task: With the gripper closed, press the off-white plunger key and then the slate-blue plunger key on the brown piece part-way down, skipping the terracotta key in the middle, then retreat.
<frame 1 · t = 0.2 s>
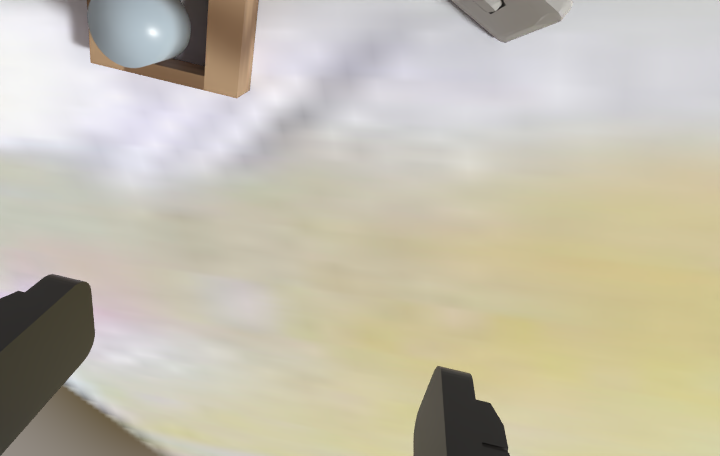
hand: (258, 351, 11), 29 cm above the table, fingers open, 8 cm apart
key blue: (146, 24, 30), point 6 cm above the table, slide at 0.0 cm
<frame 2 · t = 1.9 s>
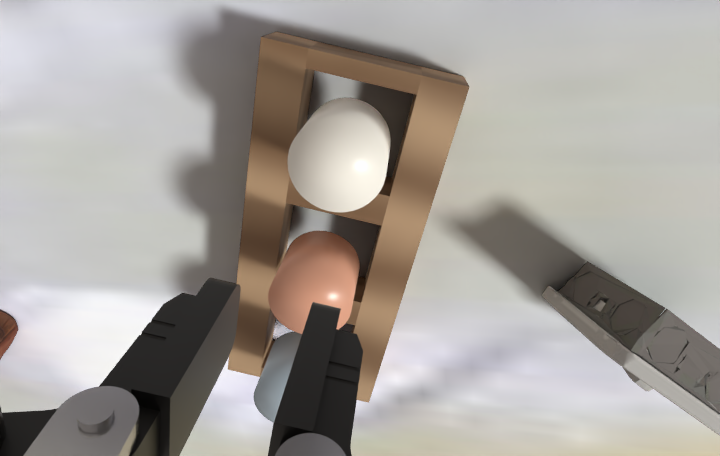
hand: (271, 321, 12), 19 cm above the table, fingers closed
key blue: (298, 373, 31), point 6 cm above the table, slide at 0.0 cm
key terracotta: (318, 277, 27), point 6 cm above the table, slide at 0.0 cm
brown piece: (332, 232, 32), on the table
electrical switch: (610, 296, 32), on the table
key white: (343, 150, 23), point 5 cm above the table, slide at 0.0 cm
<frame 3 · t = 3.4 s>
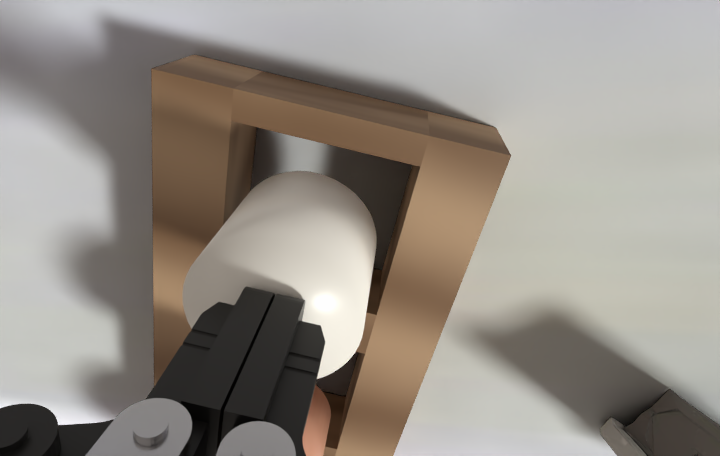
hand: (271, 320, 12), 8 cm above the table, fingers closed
key terracotta: (263, 440, 17), point 6 cm above the table, slide at 0.0 cm
brown piece: (297, 340, 22), on the table
electrical switch: (698, 431, 23), on the table
key white: (295, 262, 14), point 5 cm above the table, slide at 0.3 cm, touching gripper
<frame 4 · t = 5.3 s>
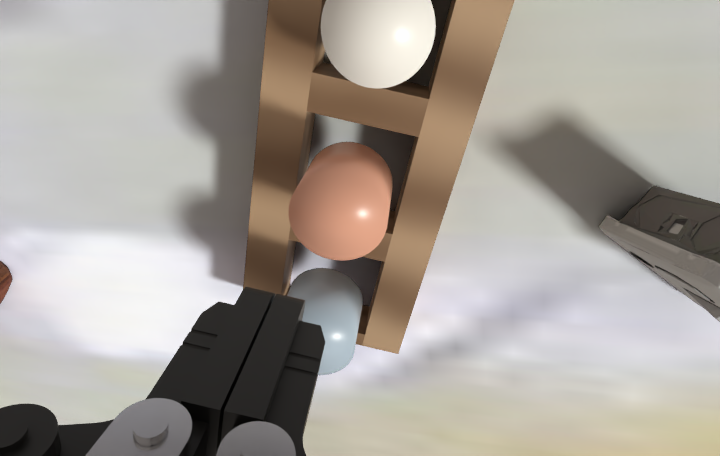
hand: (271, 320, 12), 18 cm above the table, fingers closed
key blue: (321, 314, 27), point 6 cm above the table, slide at 0.0 cm
key terracotta: (345, 195, 23), point 6 cm above the table, slide at 0.0 cm
brown piece: (358, 157, 28), on the table
electrical switch: (677, 229, 28), on the table
key white: (382, 23, 21), point 4 cm above the table, slide at 1.5 cm
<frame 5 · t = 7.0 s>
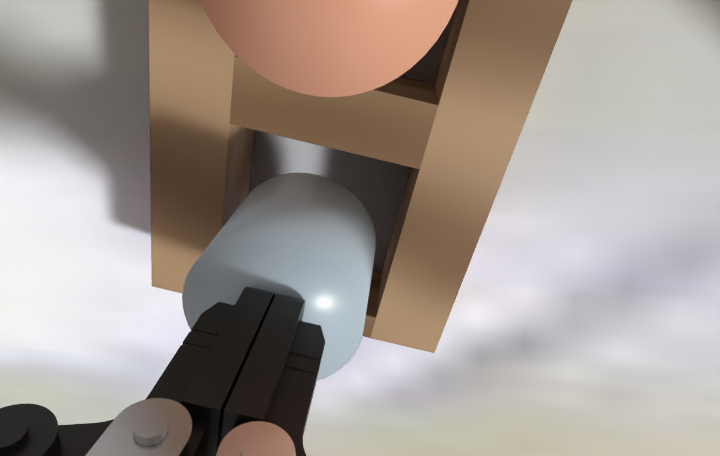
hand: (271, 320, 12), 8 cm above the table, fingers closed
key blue: (295, 263, 14), point 5 cm above the table, slide at 0.4 cm, touching gripper
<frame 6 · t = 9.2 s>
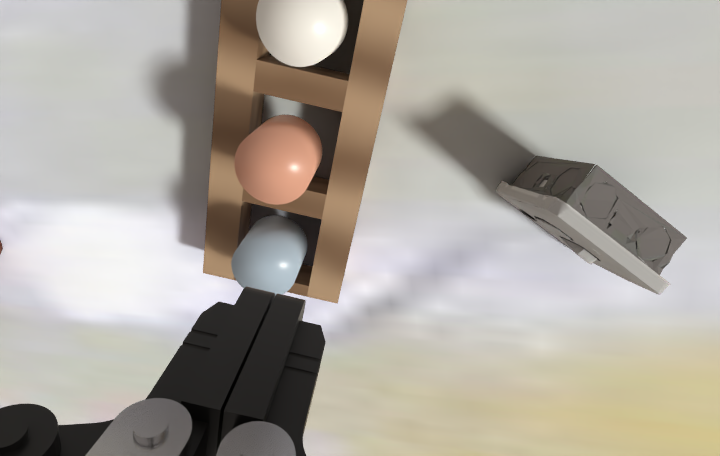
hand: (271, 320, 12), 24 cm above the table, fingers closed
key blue: (273, 251, 34), point 4 cm above the table, slide at 1.4 cm
key terracotta: (282, 156, 29), point 6 cm above the table, slide at 0.0 cm
brown piece: (300, 134, 34), on the table
electrical switch: (559, 193, 35), on the table
key white: (306, 20, 27), point 4 cm above the table, slide at 1.5 cm
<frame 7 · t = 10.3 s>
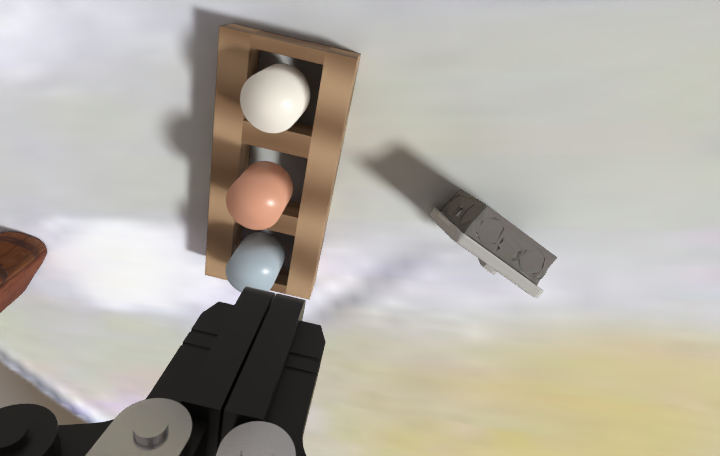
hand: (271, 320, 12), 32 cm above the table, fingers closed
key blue: (258, 260, 45), point 4 cm above the table, slide at 1.4 cm
key terracotta: (262, 192, 40), point 6 cm above the table, slide at 0.0 cm
brown piece: (279, 169, 44), on the table
wooden figurine: (14, 261, 53), on the table
electrical switch: (480, 216, 45), on the table
key white: (278, 96, 37), point 4 cm above the table, slide at 1.5 cm
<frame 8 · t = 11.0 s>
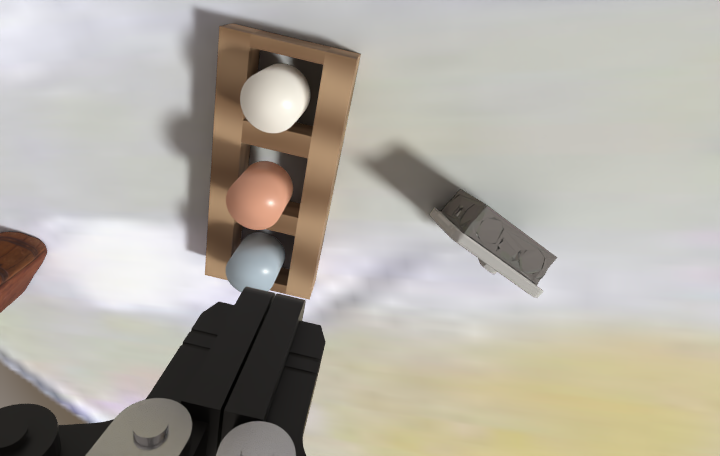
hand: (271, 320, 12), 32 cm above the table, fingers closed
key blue: (258, 260, 45), point 4 cm above the table, slide at 1.4 cm
key terracotta: (262, 192, 40), point 6 cm above the table, slide at 0.0 cm
brown piece: (279, 169, 44), on the table
wooden figurine: (14, 261, 53), on the table
electrical switch: (480, 216, 45), on the table
key white: (278, 96, 37), point 4 cm above the table, slide at 1.5 cm
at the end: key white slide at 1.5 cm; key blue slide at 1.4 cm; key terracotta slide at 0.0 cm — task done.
